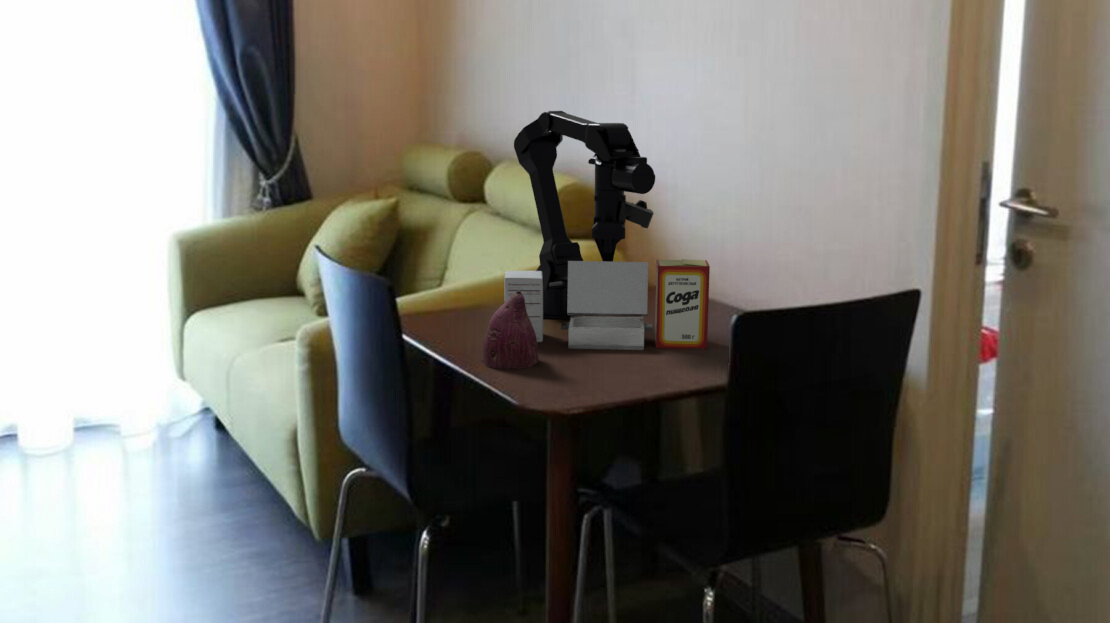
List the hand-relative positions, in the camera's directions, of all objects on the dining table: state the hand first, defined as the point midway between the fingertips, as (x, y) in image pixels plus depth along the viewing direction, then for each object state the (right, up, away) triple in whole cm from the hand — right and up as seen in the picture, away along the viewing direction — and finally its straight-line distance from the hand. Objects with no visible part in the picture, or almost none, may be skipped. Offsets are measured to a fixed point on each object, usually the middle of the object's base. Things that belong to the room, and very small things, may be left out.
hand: (608, 268), depth 235 cm
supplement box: (-16, -14, -3) cm, 22 cm away
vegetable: (-18, -18, -20) cm, 32 cm away
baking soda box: (+13, -15, -7) cm, 21 cm away
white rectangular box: (-1, -14, -6) cm, 16 cm away
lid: (0, -4, -4) cm, 5 cm away
